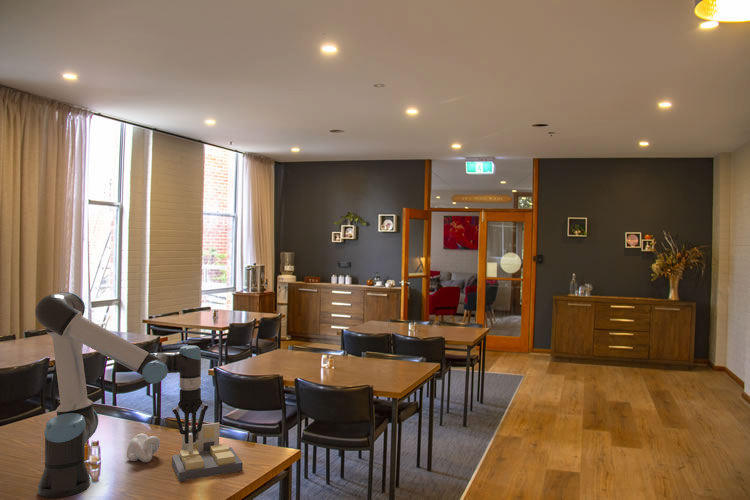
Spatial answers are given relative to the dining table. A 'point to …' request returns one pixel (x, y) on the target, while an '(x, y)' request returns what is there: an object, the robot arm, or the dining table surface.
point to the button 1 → (188, 454)
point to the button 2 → (193, 462)
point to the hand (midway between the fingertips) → (190, 451)
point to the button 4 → (224, 458)
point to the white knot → (142, 447)
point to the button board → (205, 455)
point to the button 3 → (218, 449)
